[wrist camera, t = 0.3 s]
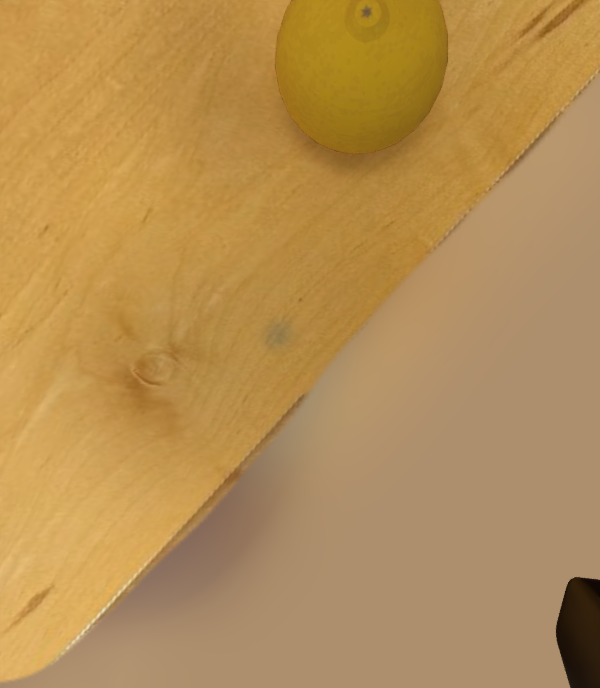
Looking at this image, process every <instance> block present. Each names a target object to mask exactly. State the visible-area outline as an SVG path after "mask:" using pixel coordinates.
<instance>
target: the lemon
mask: <svg viewBox="0 0 600 688" xmlns="http://www.w3.org/2000/svg"><path fill="white" fill-rule="evenodd" d="M447 62H448V32H447V27H446V23H445V19H444V15H443V11H442V8H441V5H440V3H439V1H438V0H291V2H290V4H289V5H288V7H287V9H286V11H285V14H284V17H283V20H282V23H281V27H280V30H279V33H278V36H277V45H276V58H275V69H276V75H277V81H278V86H279V91H280V94H281V96H282V99H283V101H284V103H285V105H286V108H287V110H288V112H289V114H290V115H291V117H292V118H293V119H294V121H295V122H296V123H297V125H298V126H299V127H300V129H301V130H302V131H303V132H304V133H306V134H307V135H308V136H309V137H311V138H312V139H313V140H315V141H316V142H317V143H318V144H321V145H323V146H325V147H328V148H330V149H333V150H335V151H339V152H345V153H352V154H360V153H369V152H376V151H379V150H381V149H384V148H386V147H389V146H391V145H394V144H396V143H397V142H398V141H400V140H401V139H403V138H404V137H405V136H407V135H408V134H410V133H411V132H412V131H414V130H415V128H416V127H417V126H418V125H419V124H420V122H421V121H422V120H423V119H424V118H425V117H426V115H427V114H428V113H429V112H430V110H431V108H432V106H433V104H434V102H435V100H436V98H437V96H438V94H439V92H440V90H441V87H442V83H443V79H444V75H445V71H446V67H447Z"/></svg>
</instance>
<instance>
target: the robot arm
mask: <svg viewBox="0 0 600 688" xmlns="http://www.w3.org/2000/svg"><path fill="white" fill-rule="evenodd" d="M556 637H557V643H558V647H559V650H560V654H561V657H562V660H563V664H564V667H565V671H566V674H567V678H568V681H569V685H570V688H600V580H598V579H589V578H580V577H575V578H573V579H571V580H570V581H569V582H568V585H567V587H566V591H565V595H564V598H563V602H562V606H561V610H560V613H559V617H558V621H557V625H556Z"/></svg>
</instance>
